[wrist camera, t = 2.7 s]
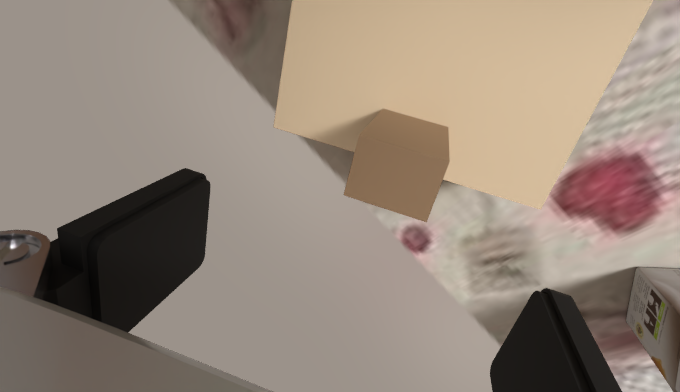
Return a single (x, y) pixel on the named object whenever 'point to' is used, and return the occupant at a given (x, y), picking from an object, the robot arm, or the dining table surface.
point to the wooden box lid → (450, 90)
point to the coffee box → (658, 318)
